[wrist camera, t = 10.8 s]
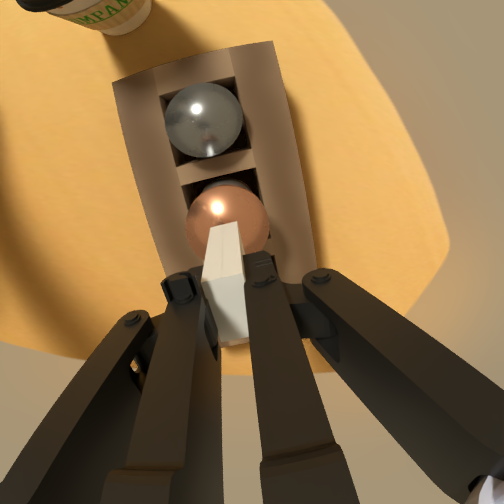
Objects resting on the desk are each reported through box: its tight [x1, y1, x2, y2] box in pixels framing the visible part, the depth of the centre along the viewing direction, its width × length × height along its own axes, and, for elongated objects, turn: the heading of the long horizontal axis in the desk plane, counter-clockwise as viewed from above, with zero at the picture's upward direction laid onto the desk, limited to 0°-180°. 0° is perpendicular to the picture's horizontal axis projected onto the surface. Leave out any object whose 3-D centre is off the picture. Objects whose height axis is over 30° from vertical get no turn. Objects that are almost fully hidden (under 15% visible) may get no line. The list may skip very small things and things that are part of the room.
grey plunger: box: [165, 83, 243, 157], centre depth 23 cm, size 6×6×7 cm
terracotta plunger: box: [185, 177, 269, 261], centre depth 23 cm, size 6×6×7 cm
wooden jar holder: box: [112, 41, 317, 348], centre depth 27 cm, size 13×26×6 cm, turn 12°
